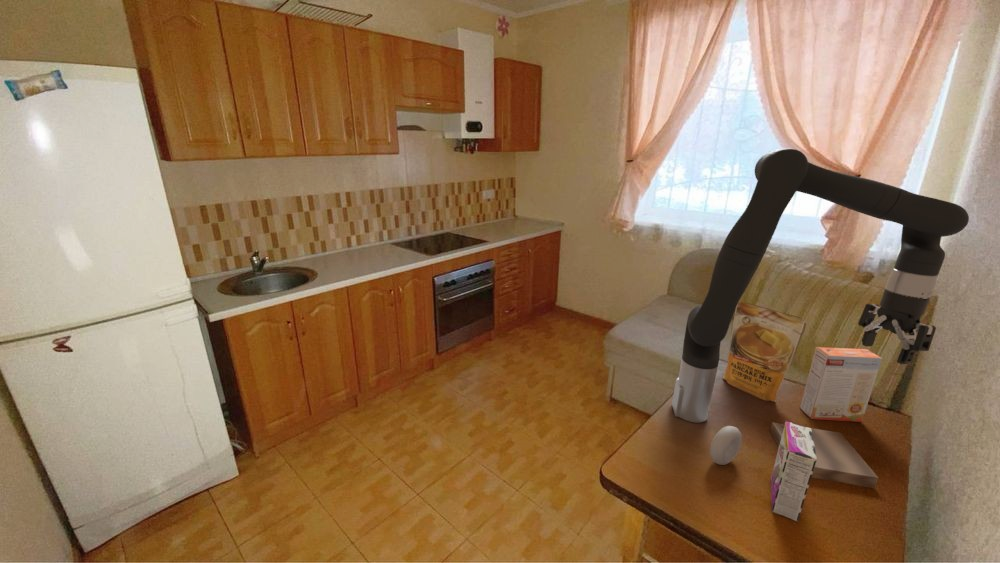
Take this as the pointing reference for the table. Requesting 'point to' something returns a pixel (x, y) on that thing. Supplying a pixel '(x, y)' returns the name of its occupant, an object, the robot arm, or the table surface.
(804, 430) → the candy bar box
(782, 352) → the pancake mix bag
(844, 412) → the cracker box
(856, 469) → the metal panel
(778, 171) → the robot arm
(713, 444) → the white oval stone
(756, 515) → the table surface
